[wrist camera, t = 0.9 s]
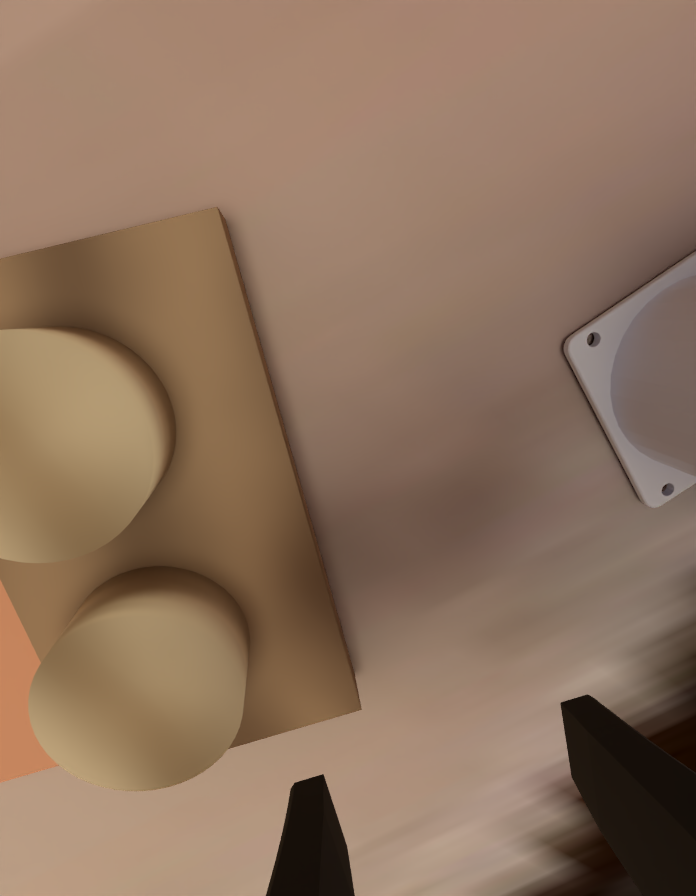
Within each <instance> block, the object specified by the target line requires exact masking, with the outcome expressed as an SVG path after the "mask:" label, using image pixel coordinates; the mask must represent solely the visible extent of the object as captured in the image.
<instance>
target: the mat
mask: <svg viewBox="0 0 696 896" xmlns="http://www.w3.org/2000/svg"><path fill="white" fill-rule="evenodd" d="M40 664H41V662H40V660H39V658H38V656H37V654H36V652H35V650H34V648H33V646H32V644H31V641H30V639H29V637H28V635H27V633H26V631H25V629H24V627H23V625H22V623H21V621H20V619H19V617H18V615H17V613H16V611H15V609H14V607H13V605H12V602H11V600H10V598H9V596H8V594H7V592H6V590H5V588H4V586H3V584H2V582H1V580H0V782H4V781H7V780H11V779H14V778H17V777H21V776H24V775H28V774H31V773H35V772H38V771H41V770H45V769H48V768H52V767H55V766H59V765H58V764H57V763H56V762H55V761H54V760H53V759H52V758H51V757H50V756H49V755H48V754H47V753H46V752H45V750H44V749H43V748H42V746H41V745H40V743H39V741H38V740H37V738H36V736H35V734H34V731H33V729H32V726H31V723H30V717H29V712H28V698H29V691H30V687H31V683H32V680H33V677H34V675H35V673H36V671H37V669H38V667H39V665H40Z"/></svg>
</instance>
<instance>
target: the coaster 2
mask: <svg viewBox="0 0 696 896" xmlns="http://www.w3.org/2000/svg"><path fill="white" fill-rule="evenodd" d="M249 649H250V634H249V629H248V624H247V621H246V619H245V616H244V614H243V612H242V610H241V608H240V606H239V605H238V604H237V602H236V601H235V600H234V598H233V597H232V596H231V595H230V594H229V593H228V592H227V591H226V590H225V589H224V588H222V587H221V586H220V585H219V584H217V583H216V582H214V581H212V580H211V579H209V578H207V577H205V576H203V575H201V574H198V573H196V572H193V571H190V570H186V569H182V568H176V567H168V566H152V567H143V568H137V569H133V570H130V571H127V572H124V573H121V574H119V575H117V576H114V577H112V578H111V579H109V580H107V581H106V582H104V583H103V584H101V585H100V586H99V587H97V588H96V589H95V590H94V591H93V592H92V593H91V594H90V595H89V596H88V597H87V598H86V600H85V601H84V602H83V604H82V605H81V606H80V608H79V609H78V611H77V612H76V614H75V615H74V617H73V618H72V619H71V621H70V622H69V624H68V625H67V627H66V628H65V629H64V631H63V632H62V634H61V635H60V637H59V638H58V640H57V641H56V642H55V644H54V645H53V647H52V648H51V650H50V651H49V652H48V654H47V655H46V657H45V658H44V660H43V661H42V663H41V664H40V665H39V667H38V669H37V671H36V673H35V675H34V677H33V680H32V683H31V687H30V691H29V698H28V712H29V717H30V723H31V726H32V729H33V731H34V734H35V736H36V738H37V740H38V741H39V743H40V745H41V746H42V748H43V749H44V750H45V752H46V753H47V754H48V755H49V756H50V757H51V758H52V759H53V760H54V761H55V762H56V763H57V764H58V765H59V766H61V767H62V768H63V769H64V770H66V771H67V772H69V773H71V774H72V775H74V776H76V777H77V778H80V779H82V780H84V781H86V782H89V783H91V784H94V785H98V786H101V787H105V788H110V789H114V790H123V791H147V790H156V789H161V788H166V787H170V786H173V785H176V784H179V783H182V782H184V781H187V780H189V779H191V778H193V777H195V776H197V775H198V774H200V773H202V772H204V771H205V770H206V769H208V768H209V767H210V766H212V765H213V764H214V763H215V762H216V761H217V760H218V759H219V758H221V757H222V755H223V754H224V753H225V752H226V751H227V749H228V748H229V747H230V745H231V744H232V742H233V740H234V739H235V737H236V735H237V732H238V730H239V727H240V724H241V720H242V716H243V707H244V697H245V688H246V678H247V668H248V659H249Z"/></svg>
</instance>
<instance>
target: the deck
mask: <svg viewBox="0 0 696 896" xmlns="http://www.w3.org/2000/svg"><path fill="white" fill-rule="evenodd" d="M52 326H68V327H76V328H83V329H87V330H91V331H95V332H98V333H101V334H103V335H106V336H108V337H111V338H113V339H114V340H116V341H118V342H120V343H122V344H124V345H125V346H127V347H128V348H129V349H131V350H132V351H134V352H135V353H136V354H137V355H138V356H140V357H141V358H142V359H143V360H144V361H145V362H146V363H147V364H148V365H149V366H150V367H151V369H152V370H153V371H154V372H155V374H156V375H157V376H158V378H159V379H160V381H161V382H162V384H163V386H164V388H165V390H166V392H167V393H168V396H169V399H170V401H171V404H172V407H173V411H174V416H175V422H176V444H175V449H174V454H173V457H172V460H171V463H170V466H169V468H168V470H167V472H166V474H165V476H164V477H163V479H162V480H161V482H160V483H159V484H158V486H157V487H156V488H155V490H154V491H153V492H152V494H151V495H150V497H149V498H148V499H147V501H146V502H145V503H144V505H143V506H142V507H141V509H140V510H139V512H138V513H137V514H136V516H135V517H134V518H133V520H132V521H131V522H130V524H129V525H128V526H127V527H126V528H125V529H124V530H123V531H122V532H121V533H120V534H119V535H118V536H116V537H115V538H114V539H112V540H111V541H110V542H109V543H107V544H105V545H104V546H102V547H100V548H99V549H97V550H95V551H92V552H90V553H88V554H85V555H83V556H80V557H77V558H73V559H70V560H65V561H59V562H53V563H24V562H16V561H10V560H5V559H1V558H0V580H1V582H2V584H3V586H4V588H5V590H6V592H7V594H8V596H9V598H10V600H11V602H12V605H13V607H14V609H15V611H16V613H17V615H18V617H19V619H20V621H21V623H22V625H23V627H24V629H25V631H26V633H27V635H28V637H29V639H30V641H31V644H32V646H33V648H34V650H35V652H36V654H37V656H38V658H39V660H40V662H41V663H42V661H43V660H44V658H45V657H46V655H47V654H48V652H49V651H50V650H51V648H52V647H53V645H54V644H55V642H56V641H57V640H58V638H59V637H60V635H61V634H62V632H63V631H64V629H65V628H66V627H67V625H68V624H69V622H70V621H71V619H72V618H73V617H74V615H75V614H76V612H77V611H78V609H79V608H80V606H81V605H82V604H83V602H84V601H85V600H86V598H87V597H88V596H89V595H90V594H91V593H92V592H93V591H94V590H95V589H96V588H97V587H99V586H100V585H101V584H103V583H104V582H106V581H107V580H109V579H111V578H112V577H114V576H117V575H119V574H121V573H124V572H127V571H130V570H133V569H137V568H143V567H152V566H168V567H176V568H182V569H186V570H190V571H193V572H196V573H198V574H201V575H203V576H205V577H207V578H209V579H211V580H212V581H214V582H216V583H217V584H219V585H220V586H221V587H222V588H224V589H225V590H226V591H227V592H228V593H229V594H230V595H231V596H232V597H233V598H234V600H235V601H236V602H237V604H238V605H239V606H240V608H241V610H242V612H243V614H244V616H245V619H246V621H247V624H248V629H249V634H250V649H249V659H248V668H247V678H246V688H245V697H244V707H243V716H242V720H241V724H240V727H239V730H238V732H237V735H236V737H235V739H234V740H233V742H232V744H231V745H230V747H229V748H228V749H230V748H233V747H236V746H240V745H243V744H247V743H250V742H253V741H257V740H260V739H264V738H267V737H270V736H274V735H277V734H281V733H284V732H287V731H291V730H294V729H298V728H301V727H304V726H308V725H311V724H315V723H318V722H321V721H325V720H328V719H332V718H335V717H338V716H342V715H345V714H349V713H352V712H355V711H359V710H361V705H360V699H359V694H358V689H357V684H356V679H355V674H354V670H353V667H352V663H351V660H350V656H349V653H348V649H347V646H346V642H345V639H344V635H343V632H342V628H341V625H340V621H339V617H338V614H337V610H336V607H335V603H334V600H333V596H332V593H331V589H330V586H329V582H328V579H327V575H326V572H325V568H324V565H323V561H322V558H321V554H320V551H319V547H318V544H317V540H316V537H315V533H314V530H313V526H312V523H311V519H310V516H309V512H308V509H307V505H306V502H305V498H304V495H303V491H302V488H301V484H300V481H299V477H298V474H297V470H296V467H295V463H294V459H293V456H292V452H291V449H290V445H289V442H288V438H287V435H286V431H285V428H284V424H283V421H282V417H281V414H280V410H279V407H278V403H277V400H276V396H275V393H274V389H273V386H272V382H271V379H270V375H269V372H268V368H267V365H266V361H265V358H264V354H263V351H262V347H261V344H260V340H259V337H258V333H257V330H256V326H255V323H254V319H253V316H252V312H251V308H250V305H249V301H248V298H247V294H246V291H245V287H244V284H243V280H242V277H241V273H240V270H239V266H238V263H237V259H236V256H235V252H234V249H233V245H232V242H231V238H230V235H229V231H228V228H227V224H226V221H225V218H224V217H223V215H222V214H221V212H220V210H219V209H218V207H215V208H211V209H206V210H202V211H198V212H194V213H190V214H185V215H181V216H177V217H173V218H169V219H165V220H160V221H156V222H152V223H148V224H144V225H139V226H135V227H131V228H127V229H123V230H119V231H114V232H110V233H106V234H102V235H98V236H94V237H89V238H85V239H81V240H77V241H73V242H68V243H64V244H60V245H56V246H52V247H48V248H43V249H39V250H35V251H31V252H27V253H22V254H18V255H14V256H10V257H6V258H2V259H0V330H6V329H21V328H37V327H52Z"/></svg>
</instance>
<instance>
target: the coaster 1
mask: <svg viewBox="0 0 696 896" xmlns="http://www.w3.org/2000/svg"><path fill="white" fill-rule="evenodd" d="M175 444H176V422H175V416H174V411H173V407H172V404H171V401H170V399H169V396H168V393H167V392H166V390H165V388H164V386H163V384H162V382H161V381H160V379H159V378H158V376H157V375H156V374H155V372H154V371H153V370H152V369H151V367H150V366H149V365H148V364H147V363H146V362H145V361H144V360H143V359H142V358H141V357H140V356H138V355H137V354H136V353H135V352H134V351H132V350H131V349H129V348H128V347H127V346H125V345H124V344H122V343H120V342H118V341H116V340H114V339H113V338H111V337H108V336H106V335H103V334H101V333H98V332H95V331H91V330H87V329H83V328H76V327H68V326H52V327H37V328H21V329H6V330H0V558H1V559H5V560H10V561H16V562H24V563H53V562H59V561H65V560H70V559H73V558H77V557H80V556H83V555H85V554H88V553H90V552H92V551H95V550H97V549H99V548H100V547H102V546H104V545H105V544H107V543H109V542H110V541H111V540H112V539H114V538H115V537H116V536H118V535H119V534H120V533H121V532H122V531H123V530H124V529H125V528H126V527H127V526H128V525H129V524H130V522H131V521H132V520H133V518H134V517H135V516H136V514H137V513H138V512H139V510H140V509H141V507H142V506H143V505H144V503H145V502H146V501H147V499H148V498H149V497H150V495H151V494H152V492H153V491H154V490H155V488H156V487H157V486H158V484H159V483H160V482H161V480H162V479H163V477H164V476H165V474H166V472H167V470H168V468H169V466H170V463H171V460H172V457H173V454H174V449H175Z"/></svg>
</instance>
